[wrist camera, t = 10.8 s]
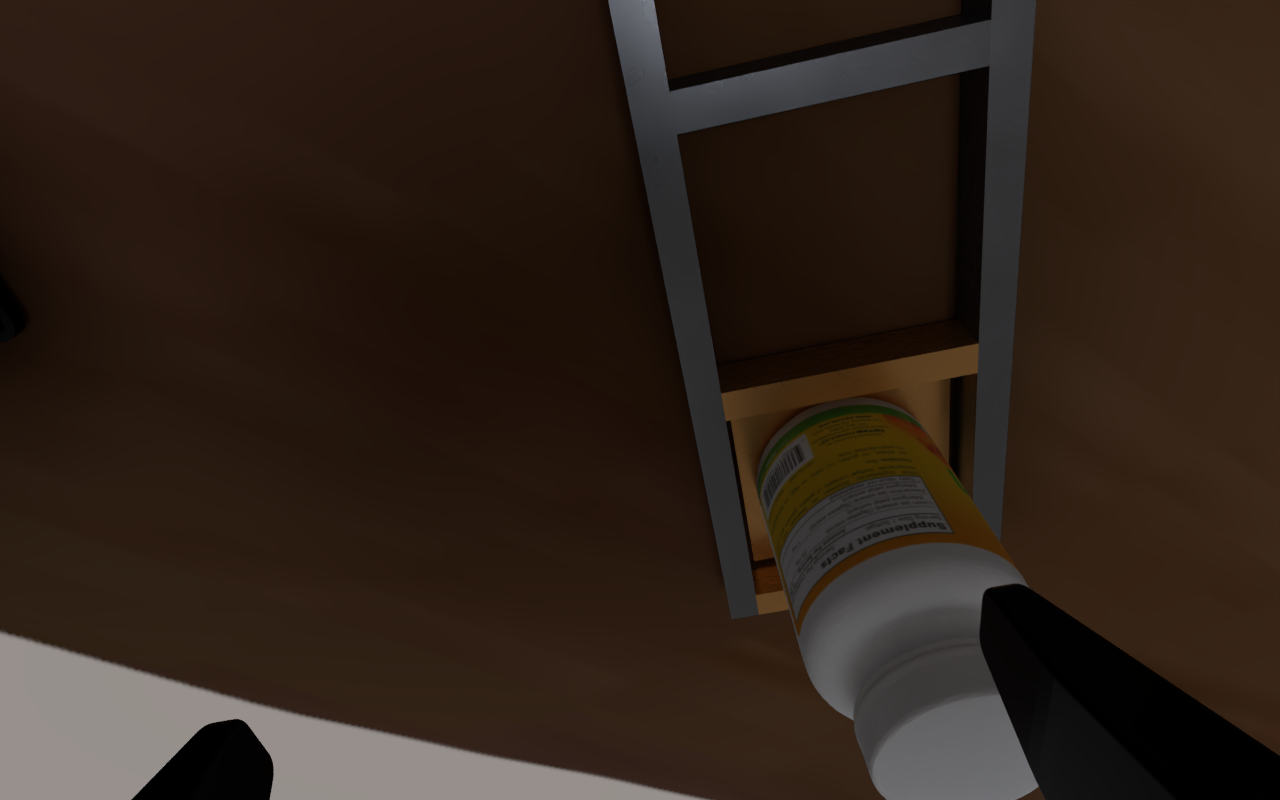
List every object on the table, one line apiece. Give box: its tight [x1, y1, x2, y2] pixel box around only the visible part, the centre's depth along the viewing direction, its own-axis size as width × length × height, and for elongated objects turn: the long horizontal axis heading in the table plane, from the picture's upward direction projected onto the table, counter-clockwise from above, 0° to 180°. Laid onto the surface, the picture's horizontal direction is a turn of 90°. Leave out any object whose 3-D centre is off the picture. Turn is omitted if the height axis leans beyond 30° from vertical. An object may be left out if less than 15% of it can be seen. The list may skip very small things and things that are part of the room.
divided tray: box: [608, 0, 1036, 619], centre depth 19 cm, size 9×24×2 cm, turn 12°
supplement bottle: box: [756, 397, 1039, 800], centre depth 19 cm, size 5×5×10 cm
